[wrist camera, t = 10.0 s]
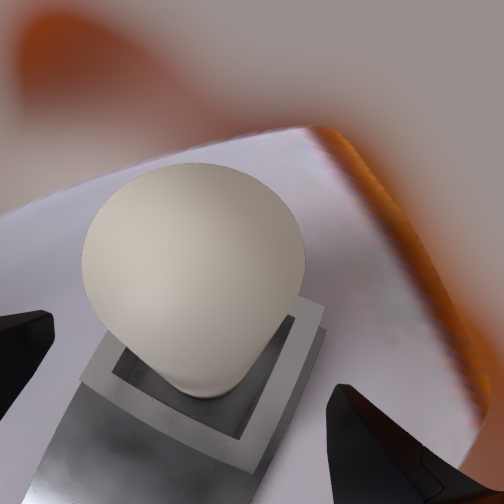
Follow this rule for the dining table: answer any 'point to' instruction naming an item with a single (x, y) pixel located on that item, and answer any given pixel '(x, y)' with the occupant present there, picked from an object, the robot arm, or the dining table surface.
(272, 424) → the socket
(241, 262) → the peg
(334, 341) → the dining table surface
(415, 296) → the dining table surface
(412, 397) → the dining table surface
